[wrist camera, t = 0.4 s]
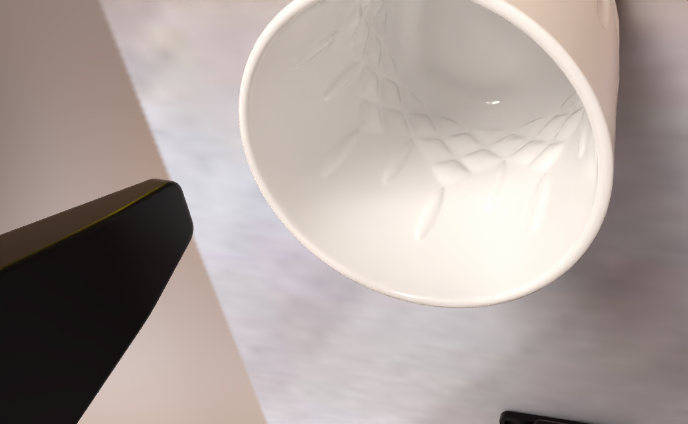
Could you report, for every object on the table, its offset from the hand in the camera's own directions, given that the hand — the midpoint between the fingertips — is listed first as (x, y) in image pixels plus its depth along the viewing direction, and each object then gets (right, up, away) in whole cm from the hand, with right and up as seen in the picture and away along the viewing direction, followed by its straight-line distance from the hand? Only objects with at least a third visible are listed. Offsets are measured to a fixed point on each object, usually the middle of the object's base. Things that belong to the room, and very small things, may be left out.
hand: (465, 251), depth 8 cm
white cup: (+4, +7, +12) cm, 14 cm away
